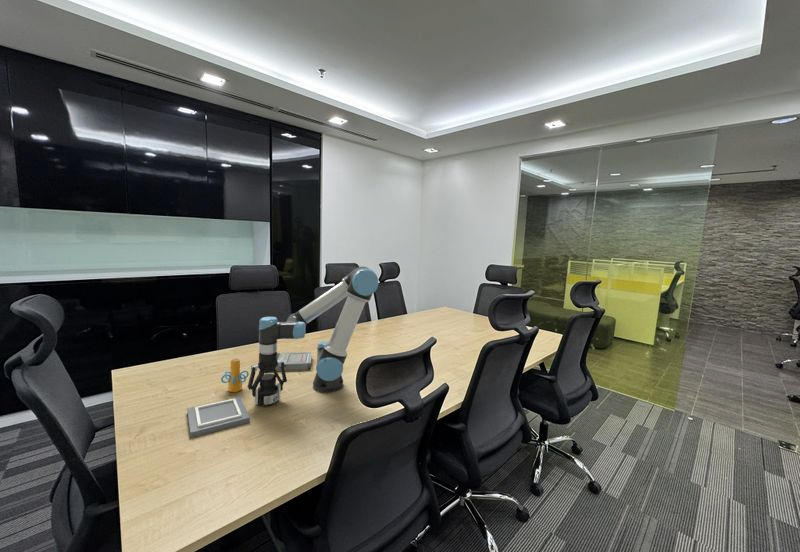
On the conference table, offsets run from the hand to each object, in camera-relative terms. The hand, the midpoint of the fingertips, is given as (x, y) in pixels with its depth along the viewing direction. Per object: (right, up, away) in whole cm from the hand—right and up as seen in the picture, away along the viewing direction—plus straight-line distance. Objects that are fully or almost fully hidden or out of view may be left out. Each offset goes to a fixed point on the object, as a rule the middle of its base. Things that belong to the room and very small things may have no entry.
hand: (267, 400), depth 146 cm
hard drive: (-7, +3, +44) cm, 45 cm away
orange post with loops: (-20, +1, +10) cm, 22 cm away
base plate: (-14, -2, -14) cm, 20 cm away
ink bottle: (0, -1, 0) cm, 1 cm away
